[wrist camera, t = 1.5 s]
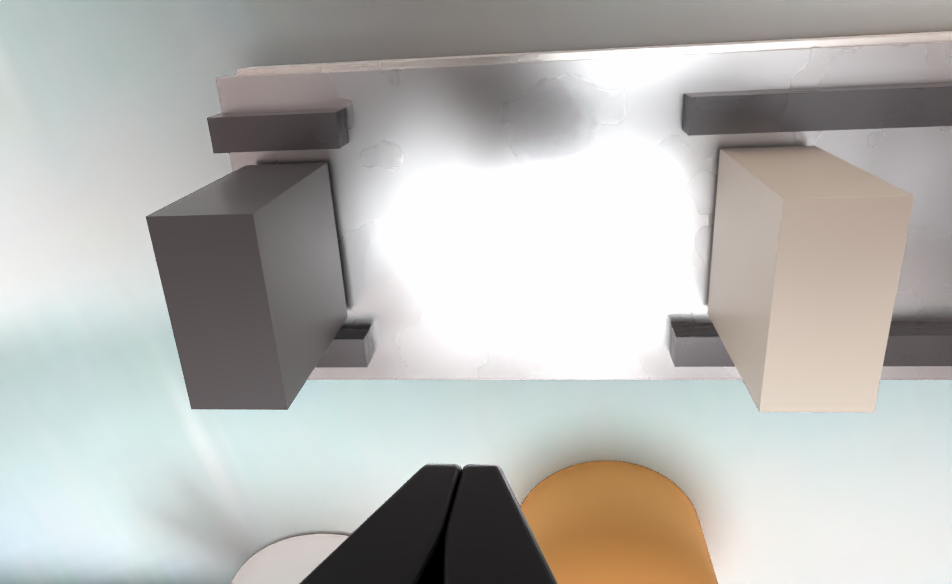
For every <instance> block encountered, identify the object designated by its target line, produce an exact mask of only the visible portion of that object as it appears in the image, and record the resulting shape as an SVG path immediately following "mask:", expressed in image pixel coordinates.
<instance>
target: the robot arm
mask: <svg viewBox="0 0 952 584" xmlns="http://www.w3.org/2000/svg"><path fill="white" fill-rule="evenodd" d="M299 584H558V583H557V581H556V579H555V577H554V575H553V573H552V571H551V569H550V567H549V565H548V563H547V561H546V559H545V557H544V555H543V552H542V550H541V548H540V546H539V544H538V542H537V540H536V538H535V536H534V534H533V532H532V530H531V528H530V526H529V524H528V522H527V520H526V518H525V516H524V514H523V512H522V510H521V508H520V506H519V504H518V502H517V500H516V498H515V496H514V494H513V491H512V489H511V487H510V485H509V483H508V481H507V479H506V477H505V475H504V473H503V471H502V469H501V468H500V467H499V466H498V465H490V464H468V465H466V466H464V467H463V469H462V468H461V466H459V465H458V464H427V465H425V466H423V467H422V468H421V469H420V470H419V471H418V472H417V473H416V474H414V475H413V476H412V477H411V478H410V479H409V480H408V481H407V482H406V483H405V484H404V485H403V486H402V487H401V488H400V489H399V490H398V491H396V492H395V493H394V494H393V495H392V496H391V497H390V498H389V499H388V500H387V501H386V502H385V503H384V504H383V505H382V506H381V507H380V508H378V509H377V510H376V511H375V512H374V513H373V514H372V515H371V516H370V517H369V518H368V519H367V520H366V521H365V522H364V523H363V524H362V525H360V526H359V527H358V528H357V529H356V530H355V531H354V532H353V533H352V534H351V535H350V536H349V537H348V538H347V539H346V540H345V541H344V542H343V543H341V544H340V545H339V546H338V547H337V548H336V549H335V550H334V551H333V552H332V553H331V554H330V555H329V556H328V557H327V558H326V559H325V560H323V561H322V562H321V563H320V564H319V565H318V566H317V567H316V568H315V569H314V570H313V571H312V572H311V573H310V574H309V575H308V576H307V577H305V578H304V579H303V580H302V581H301V582H300V583H299Z"/></svg>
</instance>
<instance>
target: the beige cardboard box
mask: <svg viewBox="0 0 952 584" xmlns="http://www.w3.org/2000/svg"><path fill="white" fill-rule="evenodd" d="M913 200H914V196H913V195H911V194H909V193H907V192H905V191H903V190H901V189H899V188H897V187H895V186H893V185H892V184H890V183H888V182H886V181H884V180H882V179H880V178H878V177H876V176H874V175H872V174H870V173H868V172H866V171H864V170H862V169H860V168H858V167H856V166H854V165H852V164H850V163H848V162H846V161H844V160H842V159H840V158H838V157H836V156H834V155H832V154H830V153H828V152H826V151H824V150H822V149H820V148H818V147H816V146H785V147H756V148H727V149H720V155H719V168H718V181H717V194H716V207H715V220H714V233H713V246H712V259H711V272H710V285H709V298H708V310H707V314H708V316H709V318H710V319H711V321H712V323H713V325H714V327H715V329H716V331H717V333H718V335H719V336H720V338H721V340H722V342H723V344H724V346H725V348H726V350H727V352H728V353H729V355H730V357H731V359H732V361H733V363H734V365H735V367H736V369H737V370H738V372H739V374H740V376H741V378H742V380H743V382H744V384H745V386H746V387H747V389H748V391H749V393H750V395H751V397H752V399H753V401H754V403H755V404H756V406H757V408H758V410H759V412H874V411H875V405H876V400H877V394H878V389H879V384H880V378H881V373H882V368H883V362H884V357H885V351H886V346H887V341H888V335H889V330H890V324H891V319H892V314H893V308H894V303H895V297H896V292H897V287H898V281H899V276H900V271H901V265H902V260H903V254H904V249H905V244H906V238H907V233H908V227H909V222H910V217H911V211H912V206H913Z"/></svg>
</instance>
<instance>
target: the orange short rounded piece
mask: <svg viewBox="0 0 952 584" xmlns="http://www.w3.org/2000/svg"><path fill="white" fill-rule="evenodd" d="M520 508H521V510H522V512H523V514H524V516H525V518H526V520H527V522H528V524H529V526H530V528H531V530H532V532H533V534H534V536H535V538H536V540H537V542H538V544H539V546H540V548H541V550H542V552H543V555H544V557H545V559H546V561H547V563H548V565H549V567H550V569H551V571H552V573H553V575H554V577H555V579H556V581H557V583H558V584H718V582H717V579H716V575H715V572H714V569H713V565H712V562H711V559H710V555H709V552H708V549H707V545H706V542H705V539H704V535H703V532H702V529H701V525H700V522H699V519H698V516H697V513H696V510H695V508H694V507H693V505H692V503H691V501H690V500H689V499H688V497H687V496H686V495H685V493H684V492H683V491H682V490H681V489H680V488H679V487H678V486H677V485H676V484H674V483H673V482H672V481H670V480H669V479H668V478H666V477H664V476H663V475H661V474H659V473H657V472H655V471H653V470H651V469H648V468H646V467H643V466H639V465H636V464H632V463H627V462H621V461H593V462H586V463H581V464H577V465H573V466H570V467H567V468H565V469H562V470H560V471H558V472H556V473H554V474H552V475H550V476H549V477H547V478H546V479H544V480H543V481H542V482H540V483H539V484H538V485H537V486H536V487H535V488H534V489H533V490H532V491H531V492H530V493H529V494H528V496H527V497H526V498H525V500H524V502H523V503H522V505H521V507H520Z"/></svg>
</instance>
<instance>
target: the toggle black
mask: <svg viewBox="0 0 952 584" xmlns="http://www.w3.org/2000/svg"><path fill="white" fill-rule="evenodd" d="M146 219H147V223H148V228H149V232H150V236H151V240H152V245H153V249H154V253H155V257H156V261H157V266H158V270H159V274H160V278H161V282H162V287H163V291H164V295H165V299H166V304H167V308H168V312H169V316H170V320H171V325H172V329H173V333H174V337H175V342H176V346H177V350H178V354H179V358H180V363H181V367H182V371H183V375H184V380H185V384H186V388H187V392H188V396H189V401H190V405H191V409H271V410H288V408H289V406H290V405H291V403H292V402H293V400H294V399H295V397H296V396H297V394H298V393H299V391H300V390H301V388H302V387H303V385H304V383H305V382H306V380H307V379H308V377H309V376H310V374H311V373H312V371H313V370H314V368H315V367H316V365H317V364H318V362H319V360H320V359H321V357H322V356H323V354H324V353H325V351H326V350H327V348H328V347H329V345H330V344H331V342H332V340H333V339H334V337H335V336H336V334H337V333H338V331H339V330H340V328H341V327H342V325H343V324H344V322H345V321H346V319H347V317H348V315H347V307H346V300H345V292H344V285H343V277H342V270H341V262H340V254H339V247H338V239H337V232H336V224H335V217H334V209H333V202H332V194H331V187H330V179H329V172H328V164H327V162H325V163H296V164H267V165H246V166H244V167H242V168H240V169H238V170H236V171H234V172H232V173H230V174H228V175H226V176H224V177H222V178H220V179H218V180H216V181H214V182H213V183H211V184H209V185H207V186H205V187H203V188H201V189H199V190H197V191H195V192H193V193H191V194H189V195H187V196H185V197H183V198H181V199H179V200H177V201H175V202H173V203H172V204H170V205H168V206H166V207H164V208H162V209H160V210H158V211H156V212H154V213H152V214H150V215H148V216H146Z"/></svg>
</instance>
